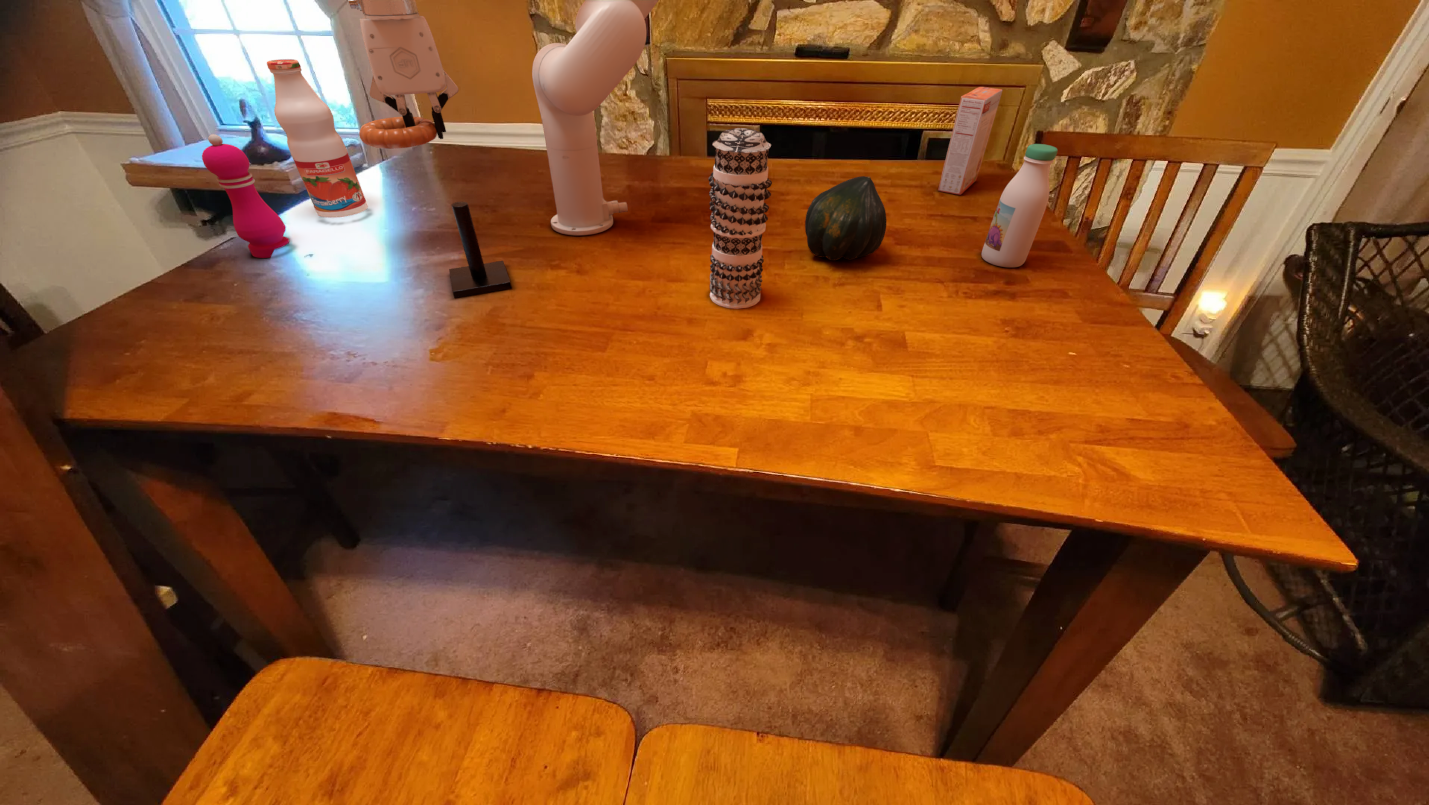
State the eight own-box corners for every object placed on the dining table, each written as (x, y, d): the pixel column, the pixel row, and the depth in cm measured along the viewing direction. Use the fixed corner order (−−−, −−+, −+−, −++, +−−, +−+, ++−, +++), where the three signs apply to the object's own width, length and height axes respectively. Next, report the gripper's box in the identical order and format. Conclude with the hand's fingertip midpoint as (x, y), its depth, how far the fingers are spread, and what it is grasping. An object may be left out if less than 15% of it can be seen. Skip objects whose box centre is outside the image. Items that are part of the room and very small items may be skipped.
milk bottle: (1024, 255, 106) (1068, 144, 93) (1023, 272, 100) (1069, 155, 88) (981, 248, 108) (1018, 138, 96) (978, 263, 103) (1017, 149, 90)
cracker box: (953, 177, 144) (978, 85, 131) (976, 181, 141) (1005, 88, 128) (935, 191, 135) (960, 94, 122) (960, 196, 132) (988, 97, 119)
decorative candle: (723, 315, 87) (729, 144, 71) (697, 289, 93) (697, 128, 77) (773, 302, 90) (789, 137, 74) (745, 279, 96) (753, 122, 81)
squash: (777, 221, 103) (832, 169, 91) (822, 205, 112) (878, 156, 100) (816, 286, 103) (877, 243, 91) (858, 265, 112) (918, 223, 100)
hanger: (504, 266, 99) (486, 191, 90) (511, 288, 92) (493, 209, 84) (450, 275, 96) (427, 198, 88) (454, 298, 89) (429, 217, 81)
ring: (438, 130, 99) (433, 112, 97) (439, 146, 91) (434, 128, 89) (366, 135, 96) (360, 118, 94) (360, 153, 87) (353, 134, 86)
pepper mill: (273, 261, 99) (211, 141, 86) (239, 257, 100) (172, 138, 87) (304, 245, 104) (250, 130, 92) (271, 241, 106) (213, 127, 93)
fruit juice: (371, 205, 121) (315, 56, 104) (369, 220, 114) (308, 63, 97) (322, 210, 118) (256, 58, 101) (317, 226, 112) (245, 65, 94)
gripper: (324, 9, 78) (374, 148, 89) (448, 6, 82) (481, 139, 94) (330, 5, 83) (377, 137, 95) (447, 3, 88) (478, 128, 99)
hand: (428, 137), depth 94 cm, fingers closed on ring, 3 cm apart
